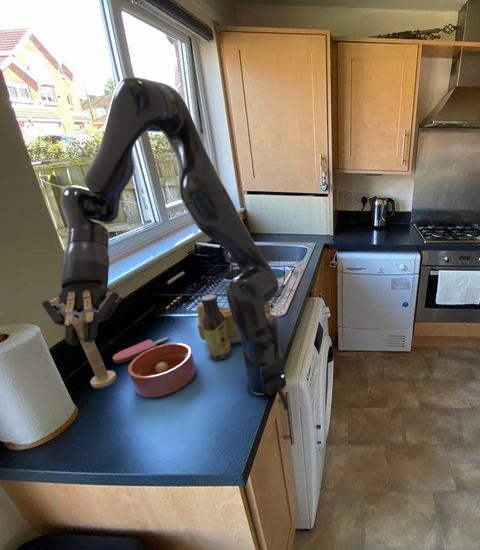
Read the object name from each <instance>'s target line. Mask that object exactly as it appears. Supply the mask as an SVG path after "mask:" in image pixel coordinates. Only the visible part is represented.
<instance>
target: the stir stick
mask: <svg viewBox="0 0 480 550" xmlns="http://www.w3.org/2000/svg"><path fill="white" fill-rule="evenodd" d="M85 323H87V321H86V318H84V317H81V318H79V319H76V320H74V321H72V324H73V327H74V329H75V331H76V333H77V335H78V338H79V342H80V344H81V346H82V349H83V351H84V353H85V355H86V358H87V360H88V362H89V363H90V367H91V369H92V371H93V373H94V376H93V377H92V378H91V379H90V382H89V383H90V385H91V387H92V388H93V389H102V388H105V387H107V386H110V385H111V384H113V383H114V382H115V381H117V378H118V376H117V373H116V372H115V371H114V370H107V368H106V366H105V364H104V361H103V358H102V356H101V354H100V351H99V348H98V347H97V345H96V343H95V340H94V341H93V342H90V343H88V342H85V341H84V340H83V338H84V324H85Z"/></svg>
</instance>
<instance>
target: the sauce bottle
mask: <svg viewBox="0 0 480 550" xmlns="http://www.w3.org/2000/svg"><path fill="white" fill-rule="evenodd" d="M200 302H201V304H203V307H204V312H205V313H204V315H203V318H202V323H203V329H204V334H205V338H206V341H205V343H206V346H207V350H208V354H209V356H210V358H211V359H212V360H215V361H218V360H223V359H225V358H227V357H229V356H230V355H231V353H232V349H231V348H232V346H231V343H230V340H229V335H228V330H227V325H226V320H225V317H224V316H223V314H222V313H221V312H220V310H219V307H218V306H219V304H218V297H217V295H216V294H206V295H204V296H202V297H201V298H200Z"/></svg>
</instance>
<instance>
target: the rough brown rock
mask: <svg viewBox="0 0 480 550" xmlns="http://www.w3.org/2000/svg"><path fill="white" fill-rule="evenodd" d="M218 307H219V310H220V312H221V313H222V314H223V316H224V317H225V320H226V325H227V330H228V335H229V340H230V344H236V343H241V340H240V334H239V331H238V329H237V328H236V326H235V324H234V322H233V319H232V315H231V311H230V307H229V306H227V307H225V306H220V305H218ZM264 308H265V313H269V314H271V303H270V301H269V302H268V303H267V304H265V305H264ZM196 312H197V319H198V322H197V323H198V324H197V329H198V333H199V337H200V338H201V339H202V340H203V341H205V342H206V338H205V334H204V329H203V323H202V318H203V315H204V313H205V312H204V307H203V304H202V303H200V304H199V305H197V306H196Z"/></svg>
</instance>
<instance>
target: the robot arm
mask: <svg viewBox="0 0 480 550" xmlns="http://www.w3.org/2000/svg"><path fill="white" fill-rule="evenodd" d="M114 89H115V90H114V92H113V95H112V98H111V102H110V106H109V111H108V112H107V113H108V114H107V117H106V121H105V125H104V129H103V134H102V138H101V142H100V145H99V148H98V150H97V153H96V154H95V157H94V159H93V160H92V162H91V164H90V166H89V167H88V170H87V171H86V173H85V175H84V178H83V182H84V186H85V187H83V186H79V185H70V186H68V187H66V188H65V189H63V191H62V192H61V194H60V200H59V201H60V207H61V211H62V213H63V216H64V218H65V223H66V226H67V238H66V239H67V240H66V248H65V251H64V255H63V263H62V272H61V280H60V281H61V283H60V284H61V285H60V286H61V289H60V292H59V293H58V295H57V297H56V298H54V299H52V300H43V302H42V303H41V306H42V307H43V308H44V310H45V311H46V313H47V314H48V316H49V317H50V318H51V321H52V322H53V323H54V324H55V325H58V326H61V327H64V328H65V331H64V332H65V333H64V341H65V343H67V344H68V345H71V346H77V345H79V342H80V340H79V338H78V335H77V333H76V331H75V329H74V327H73V324H72V321H74V320H76V319H79V318H83V313H84V312H85V321H86V323H85V324H84V338H83V340H84V341H85V342H88V343H90V342H93V341H94V342H95V340H96V339H97V337H98V325H99V324H100V323H101V322H103V321H104V322H106V321H108V320H110V318H111V316H112V315H113V313H114V312H115V310H116V309H117V308H118V306H119V304H120V303H121V301H122V300H123V296H122V295H121V294H120V293H118V292H117V291H114V292H112V291H110V289H109V287H108V285H109V272H110V266H111V265H110V264H111V263H110V255H109V241H110V232H109V230H108V227H106V226H104V225H103V224H100V223H104V224H106V223H111V222H114V221H115V220H116V219H117V218H118V216H119V214H120V207H121V206H120V205H121V204H120V203H121V198H122V195H123V192H124V191H125V189H126V188H127V186H128V185H129V184H130V181H131V180H132V178H133V176H134V173H135V170H136V161H135V157H134V146H135V144H136V142H137V141H139V139H140V137H141V136H142V135H144V134H145V133H146V132H152V133H162V134H163V135H164V137H165V138H166V140H167V141H168V143H169V145H170V147H171V149H172V151H173V153H174V155H175V157H176V160H177V164H178V189H179V195H180V199H181V201H182V203H183V205H184V207H185V209H186V211H187V212H188V214H189V216H190V218H191V219H192V221H193V223H194V224H195V226H196V227H197V228H198V230H200V231H201V232H202V233H203V234H204V235H205V236H207V237H208V238H209V239H211V241H213V242H215V243H216V244H218V246H220V247H222V248H223V249H224V250H226V252H228V253H229V255H230V256H231V257H232V258H233V260H234V261H235V263H236V265H237V266H238V268H239V270H240V274H238V275H237V276H235V277H233V278H232V279H231V280H230V281H229V282H228V284H227V286H226V297H227V302H228V307H230V311H231V315H232V319H233V322H234V324H235V326H236V328H237V329H238V331H239V334H240V340H241V342H240V343H241V345H240V346H241V350H242V355H243V360H244V361H243V362H244V366H245V371H246V377H247V382H248V388H249V392H250V393H251V394H253V395H254V396H258V397H264V398H265V399H268V398H270V397H272V396H273V395H275V394H276V393H277V394H278V395H279V397H280V399H281V402H282V406H283V409H284V411H285V410H288V409H289V405H288V400H287V398H286V396H285V394H284V392H283V391H282V390H283V389H284V388H285V387H286V386H287V379H286V373H285V364H284V357H282V349H281V340H280V334H279V326H278V319H277V318H276V316H275V315H274V314H272V313H270V314H269V313H265V308H264V305H265V304H267V303H268V302H269V303H270V301H272V300H273V299H274V298H275V297H276V296H277V294H278V292H279V288H280V287H279V281H278V278H277V276H276V274H275V272H274V270H273V269H272V267H271V266H270V264H269V262H268V261H267V260H266V258H265V257H264V255H263V254H262V252H261V251H260V249H259V248H258V246H257V245H256V243H255V241H254V239H253V238H252V236H251V234H250V232H249V230H248V229H247V227H246V225H245V222H243V219H242V218H241V216H240V214H239V212H238V210H237V207H236V206H235V203H234V202H233V200H232V197H231V196H230V194H229V192H228V190H227V188H226V187H225V185H224V183H223V181H222V179H221V178H220V176H219V174H218V172H217V170H216V167H215V166H214V164H213V162H212V160H211V158H210V156H209V154H208V151H207V150H206V147H205V146H204V143H203V141H202V138H201V136H200V134H199V131H198V129H197V127H196V123H195V121H194V119H193V116H192V114H191V112H190V110H189V108H188V106H187V104H186V101H185V100H184V98H183V96H182V95H181V94H180V93H179V92H178V91H177V90H176V89H175V88H174V87H172V86H170V85H168V84H167V83H163V82H159V81H154V80H150V79H147V78H142V77H137V76H127V77H124V78H122V79H121V80H120V81H119V82H118V84H117V85H116V87H115V88H114ZM104 301H105V302H104ZM102 303H103V304H102ZM62 304H63V305H64V306H65V311H64V313H63V311H62V310H61V309H62V308H63V306H62ZM101 304H102V306H101ZM64 314H65V315H64Z"/></svg>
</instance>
